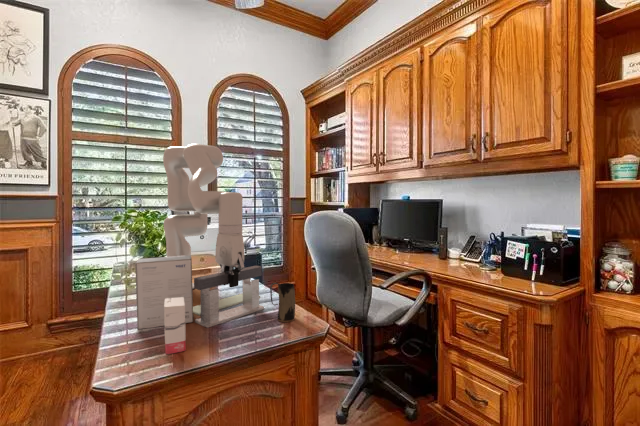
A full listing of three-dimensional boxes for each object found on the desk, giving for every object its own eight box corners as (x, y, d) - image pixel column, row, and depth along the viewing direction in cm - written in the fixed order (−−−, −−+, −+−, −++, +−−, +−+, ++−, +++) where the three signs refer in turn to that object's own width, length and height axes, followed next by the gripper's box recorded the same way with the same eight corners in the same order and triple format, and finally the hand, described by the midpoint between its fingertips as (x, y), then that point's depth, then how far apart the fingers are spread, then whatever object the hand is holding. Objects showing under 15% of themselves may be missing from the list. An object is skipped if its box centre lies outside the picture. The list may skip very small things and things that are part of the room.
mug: (291, 315, 108) (291, 279, 107) (297, 320, 103) (297, 283, 102) (268, 318, 105) (268, 281, 104) (273, 324, 99) (273, 285, 99)
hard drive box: (193, 314, 108) (192, 254, 107) (193, 322, 101) (192, 258, 100) (140, 320, 102) (138, 257, 102) (136, 330, 95) (134, 262, 94)
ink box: (186, 351, 82) (185, 305, 81) (164, 355, 80) (163, 307, 79) (184, 338, 90) (184, 295, 89) (165, 341, 88) (164, 297, 87)
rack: (194, 322, 101) (194, 288, 101) (251, 304, 118) (251, 275, 118) (207, 327, 97) (206, 292, 96) (264, 308, 114) (264, 278, 113)
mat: (186, 310, 112) (186, 308, 112) (247, 293, 132) (247, 292, 132) (198, 315, 107) (198, 313, 107) (260, 297, 127) (260, 295, 127)
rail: (194, 288, 99) (194, 278, 99) (256, 274, 118) (256, 265, 118) (199, 290, 97) (199, 279, 97) (261, 275, 116) (261, 266, 116)
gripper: (206, 228, 109) (206, 283, 110) (236, 233, 99) (236, 293, 100) (225, 227, 115) (225, 278, 116) (255, 231, 104) (255, 287, 105)
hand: (230, 284), depth 108 cm, fingers closed on rail, 3 cm apart
